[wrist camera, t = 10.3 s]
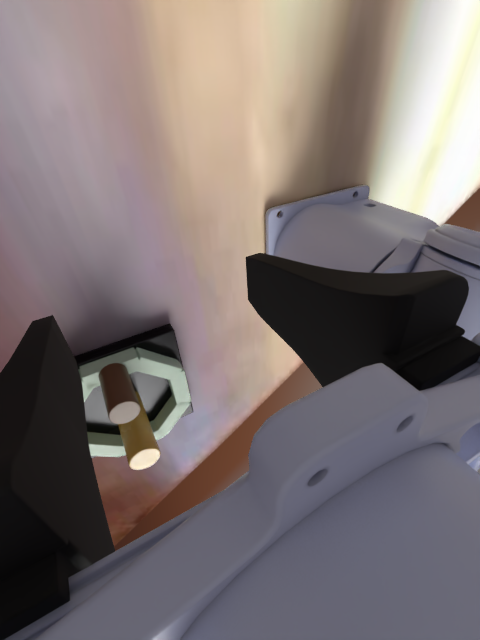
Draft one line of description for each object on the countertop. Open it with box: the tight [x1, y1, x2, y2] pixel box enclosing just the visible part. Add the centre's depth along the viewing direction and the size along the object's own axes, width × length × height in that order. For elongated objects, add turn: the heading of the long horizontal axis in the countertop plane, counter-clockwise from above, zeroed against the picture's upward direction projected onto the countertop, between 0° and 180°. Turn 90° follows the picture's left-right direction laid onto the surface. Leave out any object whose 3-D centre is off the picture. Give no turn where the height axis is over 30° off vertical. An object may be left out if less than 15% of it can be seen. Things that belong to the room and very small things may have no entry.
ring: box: [78, 347, 191, 457], centre depth 23 cm, size 10×9×5 cm
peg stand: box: [74, 324, 193, 470], centre depth 23 cm, size 10×10×6 cm
